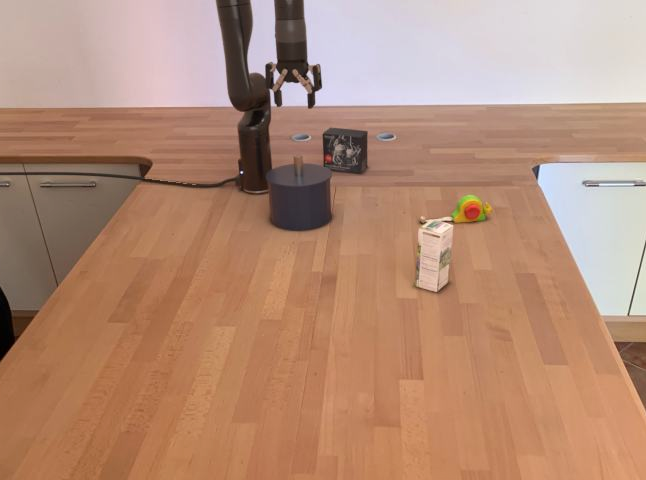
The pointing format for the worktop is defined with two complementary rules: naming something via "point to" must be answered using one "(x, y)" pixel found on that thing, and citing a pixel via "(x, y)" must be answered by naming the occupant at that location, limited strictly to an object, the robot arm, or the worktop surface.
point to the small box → (345, 150)
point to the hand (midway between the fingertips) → (294, 107)
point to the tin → (300, 206)
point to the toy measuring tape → (466, 211)
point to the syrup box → (433, 255)
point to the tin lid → (299, 174)
